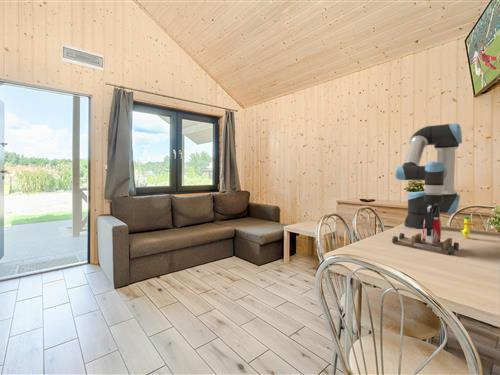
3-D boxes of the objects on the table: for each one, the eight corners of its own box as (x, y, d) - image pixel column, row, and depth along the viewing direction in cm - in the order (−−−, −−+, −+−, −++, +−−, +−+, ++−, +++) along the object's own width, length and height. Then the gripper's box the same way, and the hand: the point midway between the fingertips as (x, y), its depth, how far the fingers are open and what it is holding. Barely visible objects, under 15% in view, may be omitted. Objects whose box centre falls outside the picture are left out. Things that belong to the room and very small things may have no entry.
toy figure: (475, 238, 139) (477, 217, 138) (475, 240, 136) (477, 218, 135) (459, 236, 143) (461, 215, 143) (459, 238, 141) (460, 216, 140)
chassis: (401, 238, 140) (402, 229, 140) (458, 249, 122) (459, 238, 121) (391, 243, 132) (392, 233, 132) (451, 255, 113) (452, 244, 113)
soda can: (440, 244, 119) (441, 219, 119) (422, 242, 124) (423, 217, 123) (440, 241, 125) (441, 217, 124) (423, 239, 129) (424, 215, 128)
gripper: (430, 191, 132) (428, 235, 134) (417, 194, 119) (415, 243, 121) (448, 192, 126) (446, 238, 128) (436, 196, 113) (434, 246, 115)
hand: (431, 240), depth 124 cm, fingers closed on soda can, 7 cm apart
